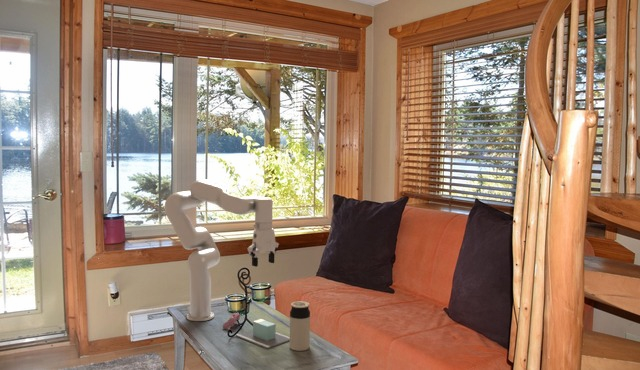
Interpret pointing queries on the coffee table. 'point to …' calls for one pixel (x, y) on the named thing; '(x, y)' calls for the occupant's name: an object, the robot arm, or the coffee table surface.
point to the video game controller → (232, 321)
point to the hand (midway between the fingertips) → (263, 264)
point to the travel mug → (299, 326)
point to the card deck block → (264, 329)
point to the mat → (261, 342)
